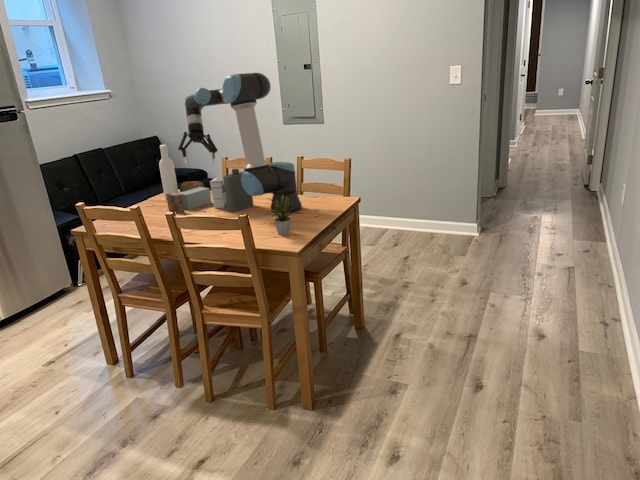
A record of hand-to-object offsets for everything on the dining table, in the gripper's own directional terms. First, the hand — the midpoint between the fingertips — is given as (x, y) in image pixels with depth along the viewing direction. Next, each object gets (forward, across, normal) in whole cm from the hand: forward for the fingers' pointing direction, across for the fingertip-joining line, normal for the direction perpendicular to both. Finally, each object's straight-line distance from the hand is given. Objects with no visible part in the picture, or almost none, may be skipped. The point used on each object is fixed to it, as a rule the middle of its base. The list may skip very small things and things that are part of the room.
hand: (199, 164), depth 256 cm
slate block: (+17, -2, -16) cm, 24 cm away
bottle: (+6, +2, -40) cm, 40 cm away
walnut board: (+21, +10, -14) cm, 27 cm away
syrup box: (+22, -10, -3) cm, 24 cm away
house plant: (+49, -11, +51) cm, 72 cm away
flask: (+26, -15, +8) cm, 31 cm away
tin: (+6, -9, -34) cm, 36 cm away
